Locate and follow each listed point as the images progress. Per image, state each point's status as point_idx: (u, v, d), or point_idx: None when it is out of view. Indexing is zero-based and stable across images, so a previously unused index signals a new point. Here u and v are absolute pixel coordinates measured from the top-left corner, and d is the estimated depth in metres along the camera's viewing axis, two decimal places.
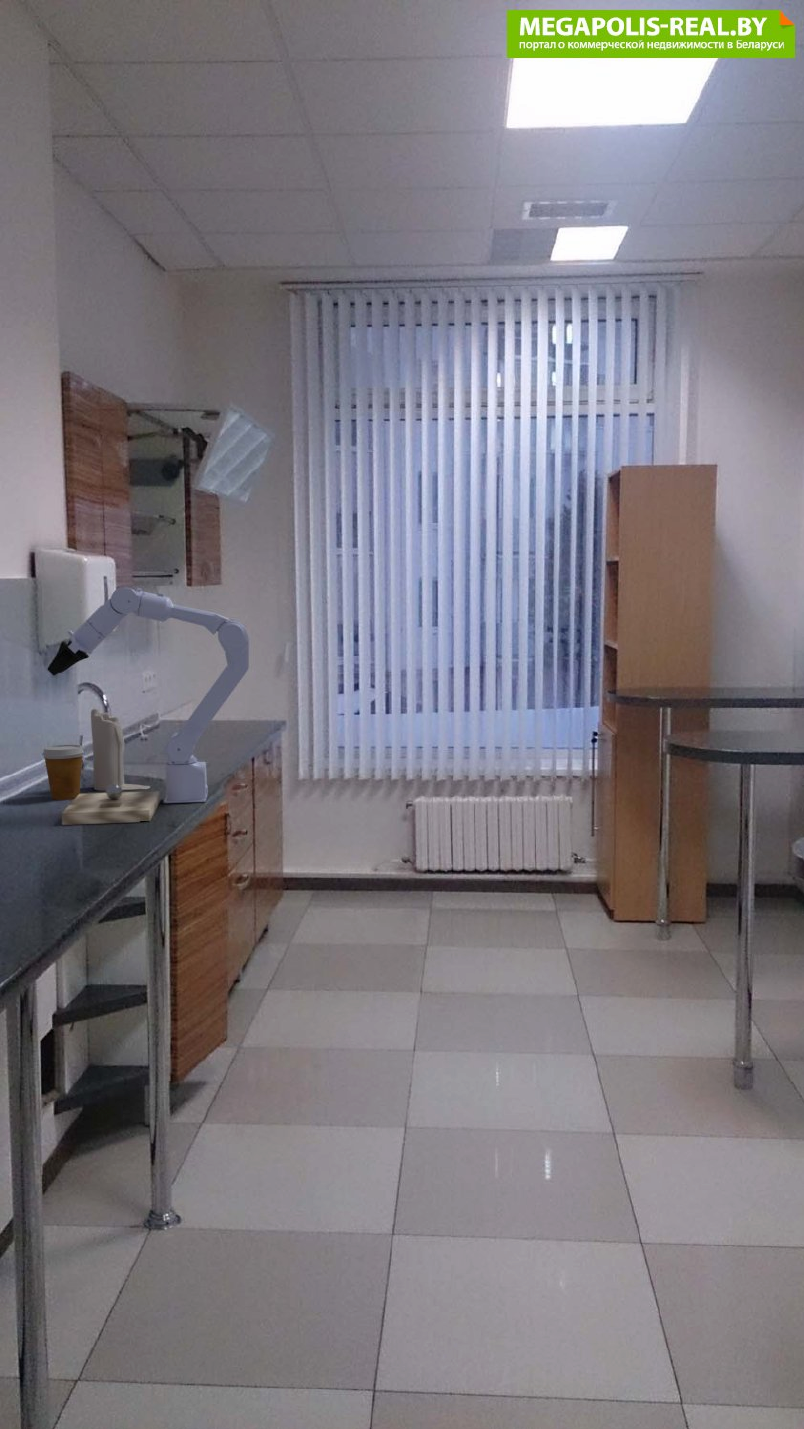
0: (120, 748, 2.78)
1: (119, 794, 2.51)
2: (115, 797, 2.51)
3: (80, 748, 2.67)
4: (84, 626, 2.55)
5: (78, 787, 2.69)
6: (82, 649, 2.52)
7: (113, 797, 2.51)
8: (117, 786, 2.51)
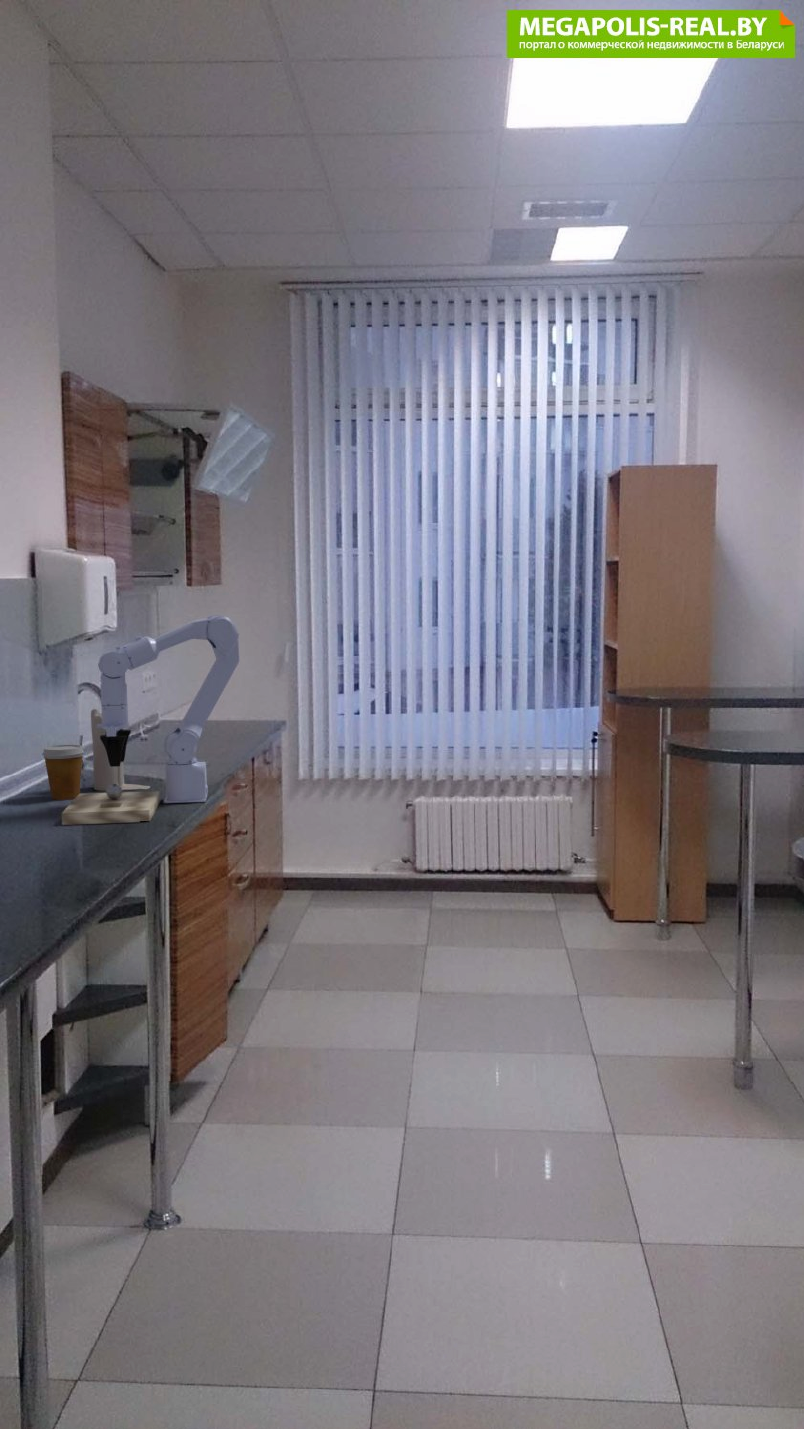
0: None
1: (119, 794, 2.51)
2: (115, 797, 2.51)
3: (80, 748, 2.67)
4: (103, 711, 2.54)
5: (78, 787, 2.69)
6: (118, 728, 2.52)
7: (113, 797, 2.51)
8: (117, 786, 2.51)
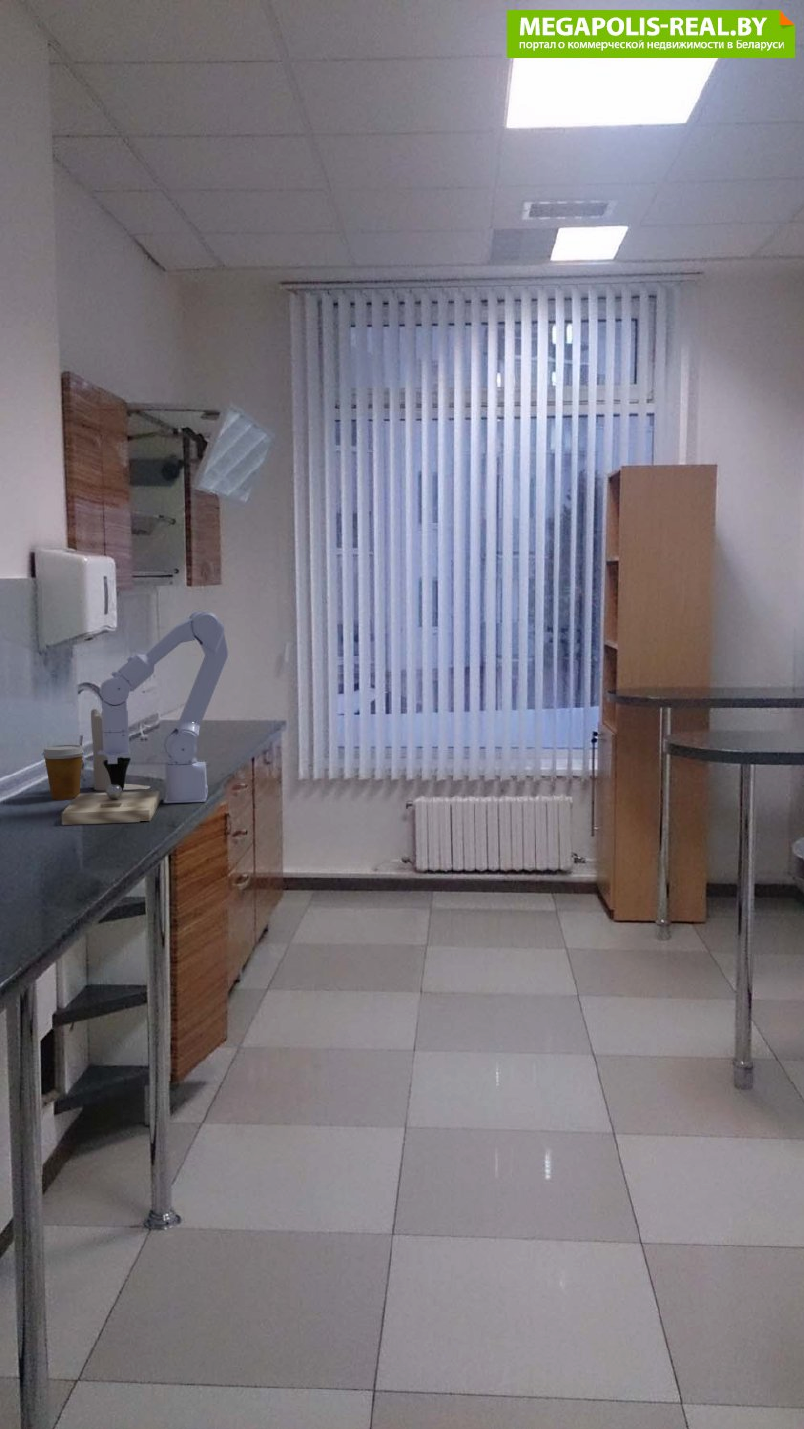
0: None
1: (119, 794, 2.51)
2: (115, 797, 2.51)
3: (80, 748, 2.67)
4: (105, 738, 2.55)
5: (78, 787, 2.69)
6: (120, 755, 2.53)
7: (113, 797, 2.51)
8: (117, 786, 2.51)
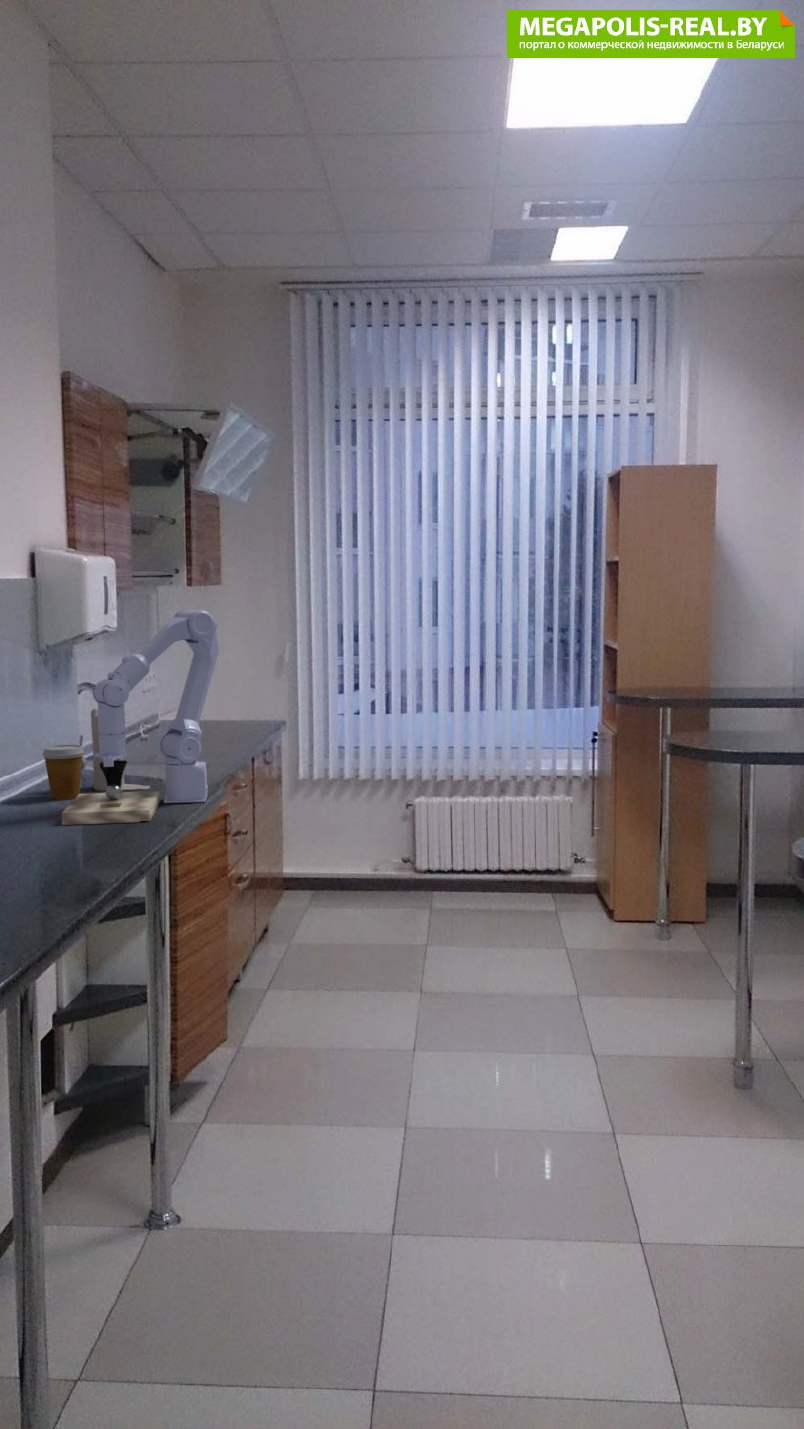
0: None
1: (119, 795, 2.51)
2: (115, 798, 2.51)
3: (80, 748, 2.67)
4: (101, 740, 2.50)
5: (78, 787, 2.69)
6: (116, 758, 2.48)
7: (113, 799, 2.51)
8: (116, 788, 2.51)
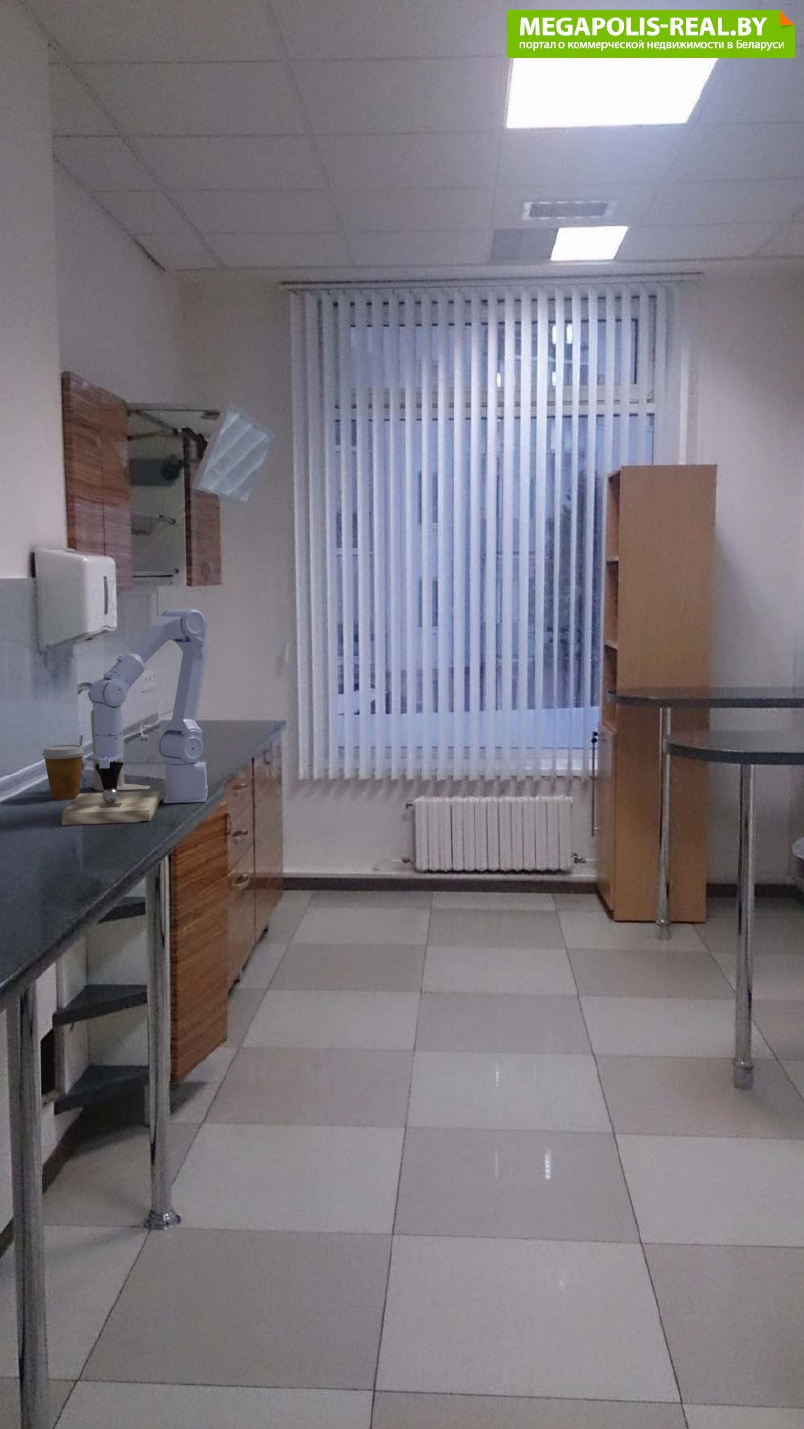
0: None
1: None
2: None
3: (80, 748, 2.67)
4: (97, 741, 2.46)
5: (78, 787, 2.69)
6: (112, 759, 2.43)
7: None
8: (114, 802, 2.48)
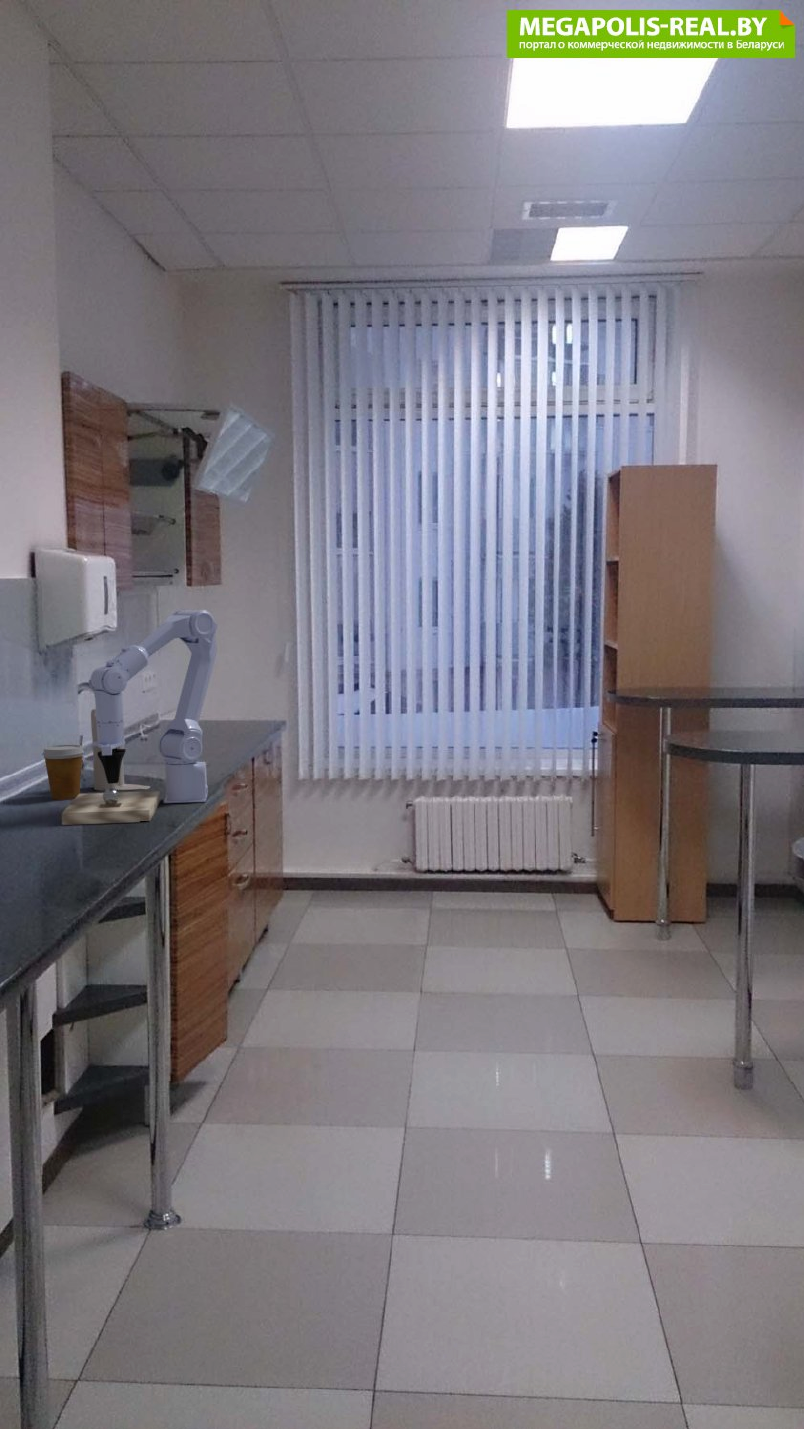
0: (120, 748, 2.78)
1: None
2: None
3: (80, 748, 2.67)
4: (99, 729, 2.47)
5: (78, 787, 2.69)
6: (114, 746, 2.45)
7: None
8: None
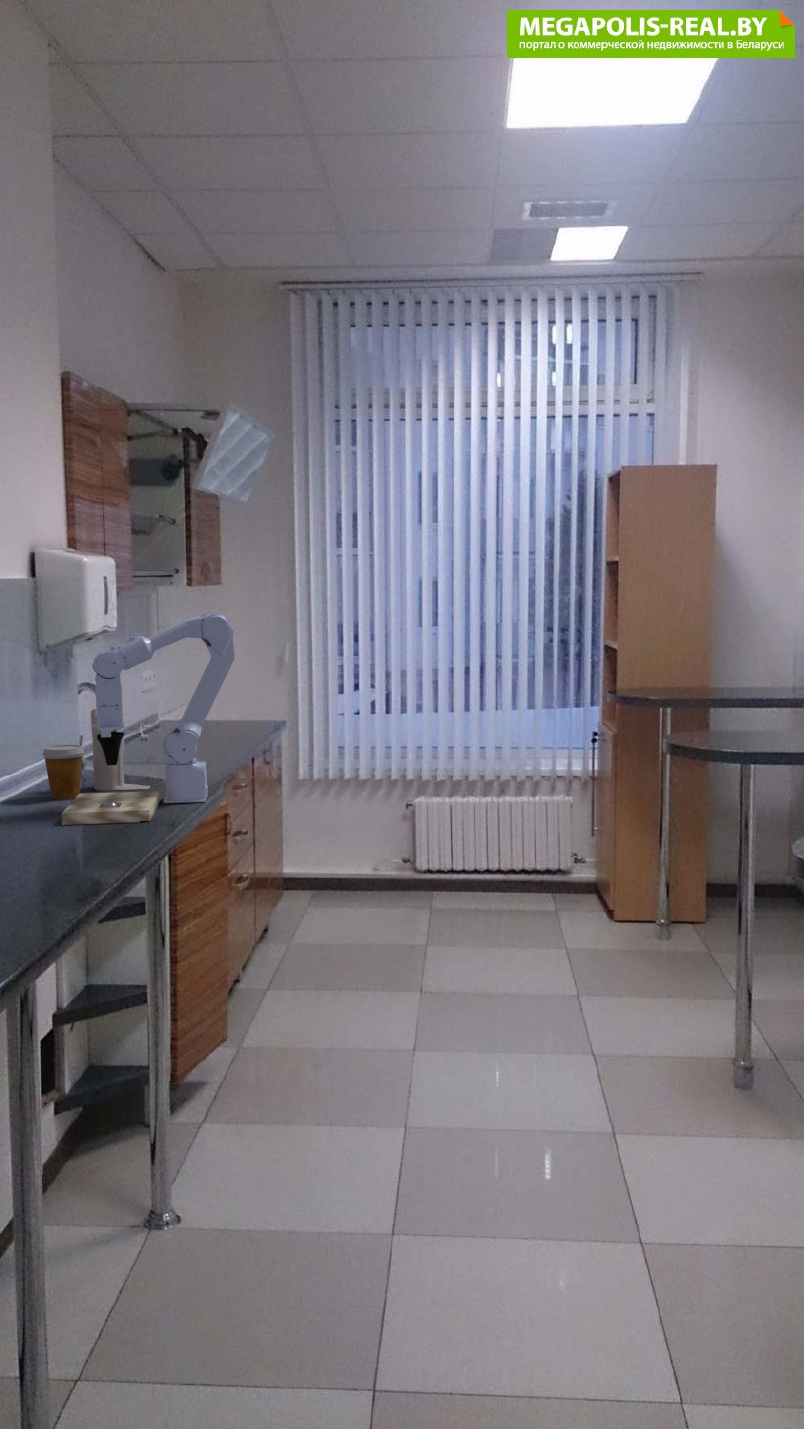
0: (120, 748, 2.78)
1: (116, 804, 2.45)
2: (112, 805, 2.44)
3: (80, 748, 2.67)
4: (98, 712, 2.53)
5: (78, 787, 2.69)
6: (113, 729, 2.51)
7: (110, 805, 2.44)
8: None
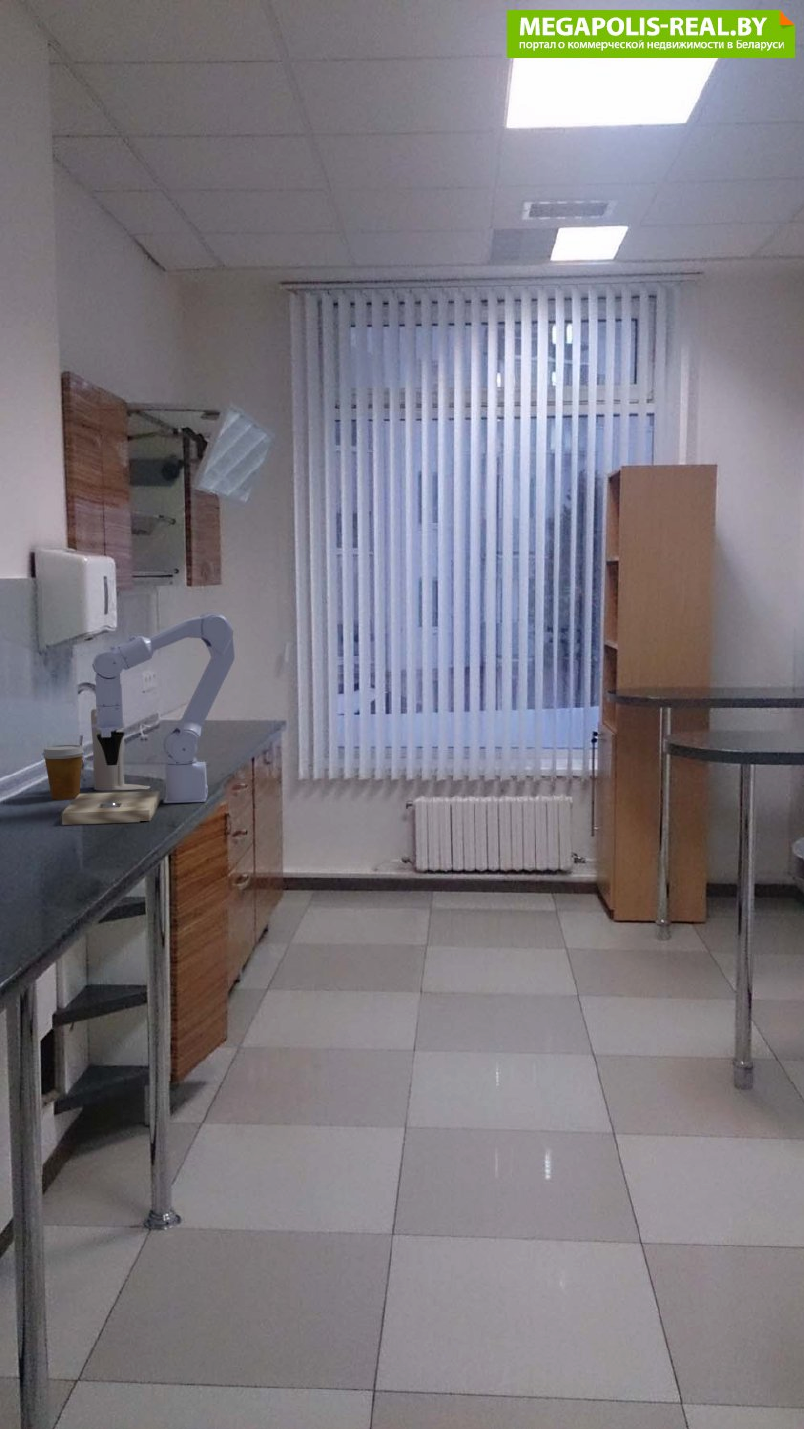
0: (120, 748, 2.78)
1: (116, 804, 2.45)
2: (112, 804, 2.44)
3: (80, 748, 2.67)
4: (98, 712, 2.53)
5: (78, 787, 2.69)
6: (113, 729, 2.51)
7: (110, 804, 2.44)
8: None
